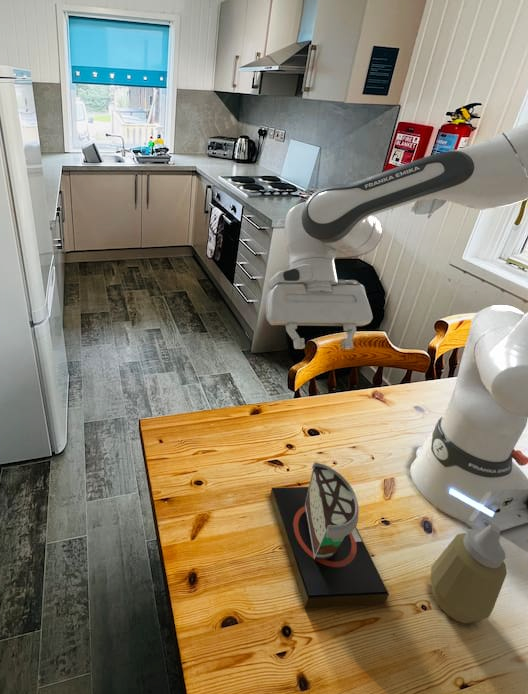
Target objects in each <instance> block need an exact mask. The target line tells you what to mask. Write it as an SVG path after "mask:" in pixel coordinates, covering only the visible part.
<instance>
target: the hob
mask: <svg viewBox="0 0 528 694" xmlns="http://www.w3.org/2000/svg"><path fill="white" fill-rule="evenodd" d="M308 489H309V486H290V487H288V486H287V487H286V486H285V487H271V490H270V494H269V500H270V503H271V507H272V509H273V512H274V516H275V519H276V523H277V526H278V528H279V531H280V532H279V533H280V535H281V538H282V542H283V544H284V548H285V551H286V554H287V557H288V559H289V560H288V561H289V563H290V566H291V569H292V574H293V576H294V579H295V582H296V585H297V590H298V593H299V596H300V598H301V602H302V605H303V608H304V609H321V608H340V607H343V608H344V607H361V606H383V605H385V604H386V602H387V599H388V597H389V595H390V593H389V591H388V589H387V587H386V585H385V583H384V581H383V579H382V577H381V575H380V572H379V570H378V568H377V567H376V565H375V562H374V560H373V559H372V557H371V554H370V552H369V550H368V548H367V547H366V544H365V542H364V540H363V538H362V536H361V533H360V532H359V530H358V528H357V526H356V527H355V529H354V530H353V531H352V532H351V533H350V534H348V535H346V536H345V537H344V539H343V541H342V543H341V545H340V547H339V548H338V550H337V552H336V554H334V555H333V556H332V557H331V558H328V559H324V560H317V559H314V555H313V549H312V543H311V537H310V531H309V526H308V520H307V514H306V508H305V502H306V498H307V493H308Z"/></svg>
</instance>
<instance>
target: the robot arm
mask: <svg viewBox="0 0 528 694" xmlns="http://www.w3.org/2000/svg"><path fill="white" fill-rule="evenodd" d="M424 200H426V201H427V200H439V201H446V202H451V203H453V204H458V205H459V206H460V205H461V206H463V207H465V208H469V209H472V210H479V211H486V210H491V209H496V208H503V207H506V206H511V205H514V204H517V203H520V202H524V201H527V200H528V122H526V123H523V124H519V125H518V126H515V127H512V128H509V129H507V130H505V131H503V132H502V133H498V134H496V135H494V136H491V137H489V138H486V139H484V140H482V141H478V142H476V143H473V144H471V145H467V146H464V147H461V148H458V149H454V150H448V151H447V150H446V151H443V152H438V153H435V154H431V155H428V156H425V157H422V158H418V159H416V160H413V161H410V162H407V163H404V164H401V165H399V166H396V167H393V168H391V169H388V170H384V171H382V172H379V173H376V174H374V175H371V176H368V177H365V178H363V179H360V180H356V181H352V182H348V183H338V184H337V183H336V184H330V185H327V186H326V185H325V186H323V187H321V188H319V189H317V190H315V192H313V193H312V194H311V195H310V196H309V198H308V199H307V200H306V201H304V202H300V203H298V204H296V205H295V206H293V207H292V208H290V210H289V211H288V212H287V214H286V216H285V220H284V238H285V246H286V247H285V248H286V251H287V253H288V256H289V262H288V269H283V270H281V271H278V272H277V273H275V274H274V275H273V276H272V277H271V278H270V279H269V280H268V282H267V288H268V291H269V292H267V294H266V298H265V318H266V321H267V323H269V325H271V326H285V332H286V333H287V334H288V336H289V338H291V340H292V342H293V348H294V349H295V350H297V349H298V350H303V349H305V348H306V344H305V338H304V337H300V335H299V334H298V332H297V331H296V330H297V329H298V326H309V327H310V326H311V327H313V326H315V327H317V326H318V327H319V326H320V327H322V326H323V327H324V326H325V327H343V332H346V334H345V336H344V338H342V339H340V344H341V350H351V349H354V340H353V339H354V337H355V334H356V332H357V327H364V326H367V325H369V324H370V323H371V322H372V320H373V318H374V316H373V312H372V309H371V305H370V303H369V299H368V297H367V292H366V288H365V286H364V285H363V284H362V283H360V282H358V280H356V279H338V275H337V270H336V264H335V259H336V258H339V259H343V258H353V257H359V256H364V255H367V254H368V253H370V252H372V251H373V250H375V248H376V247H377V246H378V245H379V243H380V241H381V239H382V236H383V227H382V224H381V222H380V220H379V218H377V217H376V216H375V215H378V214H380V213H383V212H388V211H391V210H393V209H396V208H399V207H402V206H405V205H408V204H411V203H415V202H419V201H424ZM459 363H460V364H459V368H458V372H457V377H456V381H455V385H454V388H453V392H452V394H451V397H450V399H449V402H448V404H447V405H446V408H445V411H444V413H443V415H442V417H440V418H439V419H438V420H437V422H436V424H435V425H434V429H433V430H432V432H430V435H429V436H428V437H427V439H426V441H425V443H423V446H419V447H418V448H417V449H416V453H415V454H416V457H415V459H414V461H412V463H411V465H410V468H409V469H410V470H409V471H410V476H411V479H412V482H413V484H414V485H415V487H416V489H417V490H418V492H420V494H421V495H422V496H423V497H424V498H425V499H426V500H427V501H428V502H429V503H430V504H431V505H433V506H434V507H435V508H437V509H438V510H440V511H441V512H443V513H445V514H447V515H448V516H450V517H453V518H454V519H457V520H459V521H461V522H462V523H464V524H466V525H467V526H469V527H470V528H471V529H474V528H475V529H479V530H482V531H483V530H484V529H485V528H487V527H488V526H489V525H491V524H494V525H496V526H498V527H499V528H500V532H502V531H505V530H508V529H512V528H515V527H519V526H521V525H525V524H528V476H527V475H526V474H525V473H524V471H522V469H521V468H520V467H519V466H521V467H523V466H526V465H527V464H528V457H527V456H526V455H525V454H523V452H522V451H521V450H519V449H517V450H516V449H515V447H516V445H517V443H518V442H519V440H520V438H521V436H522V434H523V432H524V431H525V429H526V427H527V424H528V311H526V312H525V311H523V310H521V309H519V308H517V307H514V306H510V305H506V304H505V305H504V304H503V305H502V304H497V305H491V306H488V307H485V308H483V309H481V310H479V311H477V312H476V313H475V315H474V316H473V317H472V320H471V322H470V328H469V331H468V336H467V339H466V342H465V345H464V349H463V353H462V356H461V360H460V362H459ZM513 460H514V461H515V462H514V461H513ZM516 463H517V464H516Z"/></svg>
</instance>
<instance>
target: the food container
mask: <svg viewBox="0 0 528 694" xmlns="http://www.w3.org/2000/svg"><path fill="white" fill-rule="evenodd" d="M311 469H312V471H311V476H310V480H309V484H308V487H309V489H308V493H307V498H306V502H305V508H306V514H307V520H308V526H309V531H310V537H311V543H312V549H313V555H314V559H317V560H324V559H328V558H331V557H332V556H333V555H334V554H336V552H337V550H338V548H339V547H340V545H341V543H342V541H343V539H344V537H345V536H346V535H348V534H350V533H351V532H352V531H353V530H354V529H355V527H356V528H357V525H358V523H359V513H360V511H359V503H358V498H357V495H356V493H355V491H354V489H353V487H352V486H351V484H350V483H349V482H348V480H347V479H346V478H345V477H344V476H343V475H342V474H340V472H338V471H336V470H335V469H334V468H332V467H330V466H329V465H325V464H323V463H321V462H318V461H317V462H316V461H314V462H313V464H312V466H311Z"/></svg>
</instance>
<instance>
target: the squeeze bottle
mask: <svg viewBox="0 0 528 694" xmlns="http://www.w3.org/2000/svg"><path fill="white" fill-rule="evenodd" d="M500 537H501V531H500V528H499V527H498V526H496V525H494V524H491V525H489V526H488V527H487V528H485V529H484V530H483V531H482V530H479V529H475V528H474V529H473V528H469V529H468V530H467V532H462V533H457V534H456V535H455V537H454V538H453V539H452V540H451V542H449V544H448V545H447V547H446V548H445V549H444V550H443V552H442V553H441V554H440V555H439V557H438V558H437V559H436V560H435V561H434V563H433V564H432V565H431V567H430V580H431V581H430V582H431V592H432V595H433V598H434V601H435V602H436V603H437V605H438V606H439V609H441V610H442V611H443V612H444V613H445V614H446V615H447V616H448V617H450V618H451V619H453V620H455V621H457V622H459V623H462V624H470V623H474V622H478V621H481V620H484V619H488V618H489V617H490V616H491V614H492V613H493V610H494V608H495V605H496V603H497V600H498V598H499V596H500V592H501V590H502V588H503V584H504V583H505V580H506V577H507V573H508V572H507V565H506V564H505V562H504V561H505V559H506V558H507V557H506V551H505V549H504V547H503V546H502V544H501V543H500Z"/></svg>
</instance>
